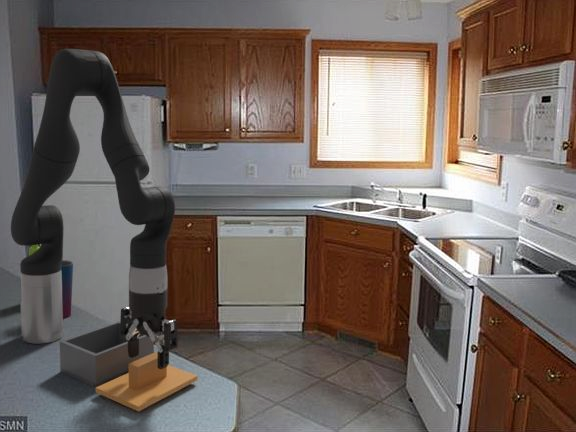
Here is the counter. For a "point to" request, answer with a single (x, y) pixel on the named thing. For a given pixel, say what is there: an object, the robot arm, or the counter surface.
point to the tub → (100, 354)
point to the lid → (145, 383)
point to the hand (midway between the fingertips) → (148, 362)
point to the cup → (66, 287)
